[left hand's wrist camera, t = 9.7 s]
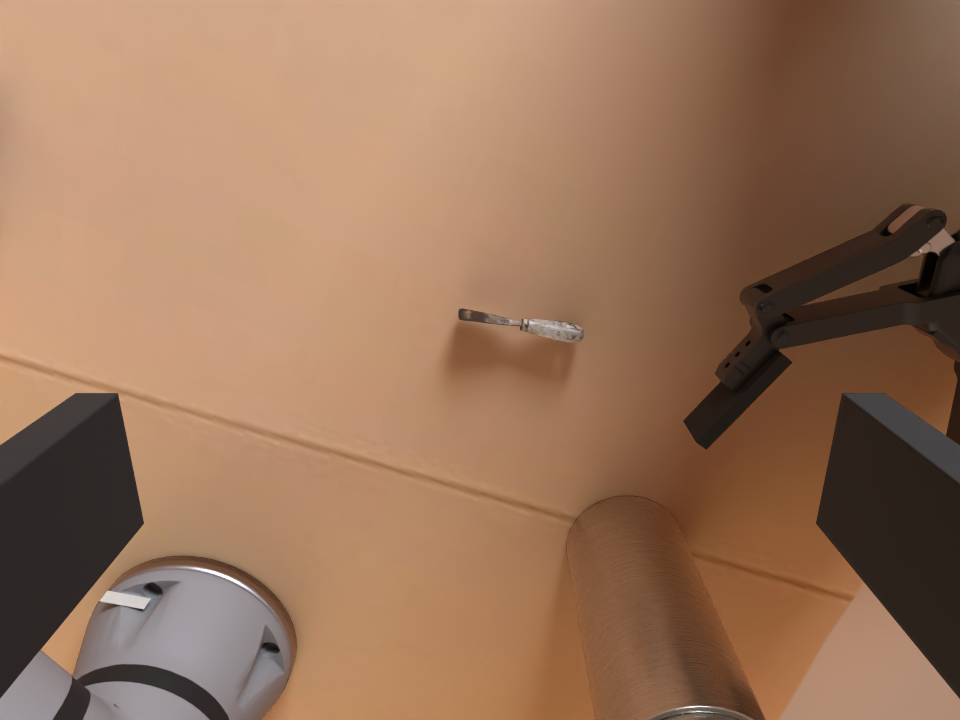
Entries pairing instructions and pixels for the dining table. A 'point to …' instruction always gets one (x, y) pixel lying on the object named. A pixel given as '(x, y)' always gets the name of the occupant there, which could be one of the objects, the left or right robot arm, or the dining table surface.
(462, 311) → the putty knife
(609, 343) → the dining table surface
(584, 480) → the dining table surface
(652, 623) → the bottle
